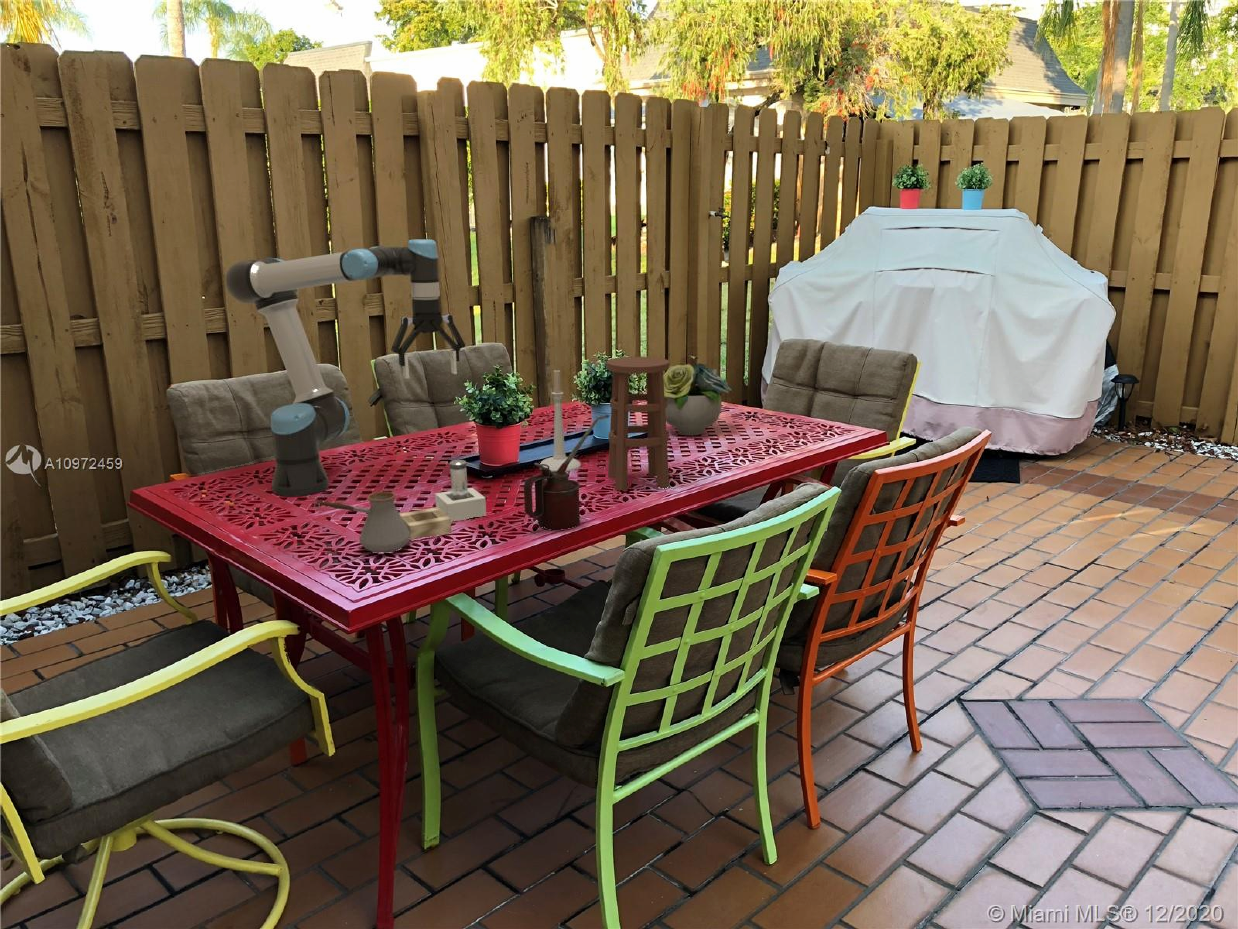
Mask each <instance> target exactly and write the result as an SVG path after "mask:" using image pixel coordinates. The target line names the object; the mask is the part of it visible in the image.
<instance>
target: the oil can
mask: <svg viewBox="0 0 1238 929" xmlns="http://www.w3.org/2000/svg"><path fill="white" fill-rule="evenodd" d="M605 418H606V419H608V418H611V415H608V414H605V415H599V416H598V417H596V419H594V421H593V422H592V424H590V426H589V427H588V429H587V431H585V433H584V434H583V436H582V437H581V438H580V440H579V441H578V443H577V444H576V445H575V446H574V448H573V449H572V451H571V452H570V454H569V455H568V456H567V457H568V458H567V459H566V460H565V462H564V463H562V465H561V466H560V467H559V469H558V470H557V471H553V472H552V471H551V470H550V469H549V466H548V465H546V464H539V463H540V462H535V463H534V466H536V467H537V468H538V469H540V468H541V469H540V472H541V473H540V474H536V475H534V476H533V475H532V476H530V477H527V478H526V479H525V481H524V483H523V500H524V501H523V503H524V505H523V506H524V513H525V514H526V515H527V516H529V517H533V518H537V525H538V524H539V526H540V528H541V527H543V528H544V527H545V528H547V529H551V530H550V531H553V530H561V529H568V528H572V527H575V526H577V525H578V524H579V525H580V523H581V522H580V518H581V517H580V513H581V512H580V486H581V484H580V482H578V481H575V480H574V479H569V473H568V472H565V471H566V469H567V467H568V465H569V463H570V462H571V460H572V459H573V458H574V457H575V455H577V453H578V451H579V450H580V448H581V447H582V445H583V444H584V443H585V441H586V439H588V438H587V437H588V436H589V435H590V433H591V432H592V431H593V429H594V427H595V425H596V424H597V423H598V421H599V420H602V419H605ZM543 466H547V467H548V468H546V467H543ZM533 486H534V500H535V501H534V502H535V507H533V506H534V505H533ZM533 508H535V509H534V511H533ZM579 525H578V526H579ZM539 526H538V527H539ZM578 526H577V527H578ZM543 528H542V529H543ZM575 528H576V527H575ZM572 529H573V528H572ZM568 530H569V529H568ZM561 531H562V530H561Z"/></svg>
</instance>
